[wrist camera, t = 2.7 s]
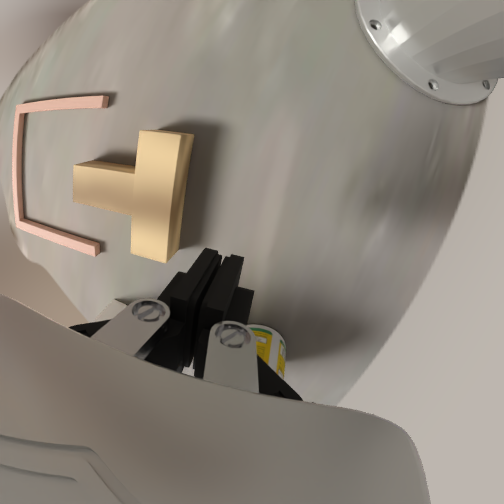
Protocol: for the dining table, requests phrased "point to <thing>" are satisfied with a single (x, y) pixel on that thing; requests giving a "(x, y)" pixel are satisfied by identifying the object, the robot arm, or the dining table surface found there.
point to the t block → (143, 190)
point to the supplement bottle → (270, 347)
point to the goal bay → (21, 223)
